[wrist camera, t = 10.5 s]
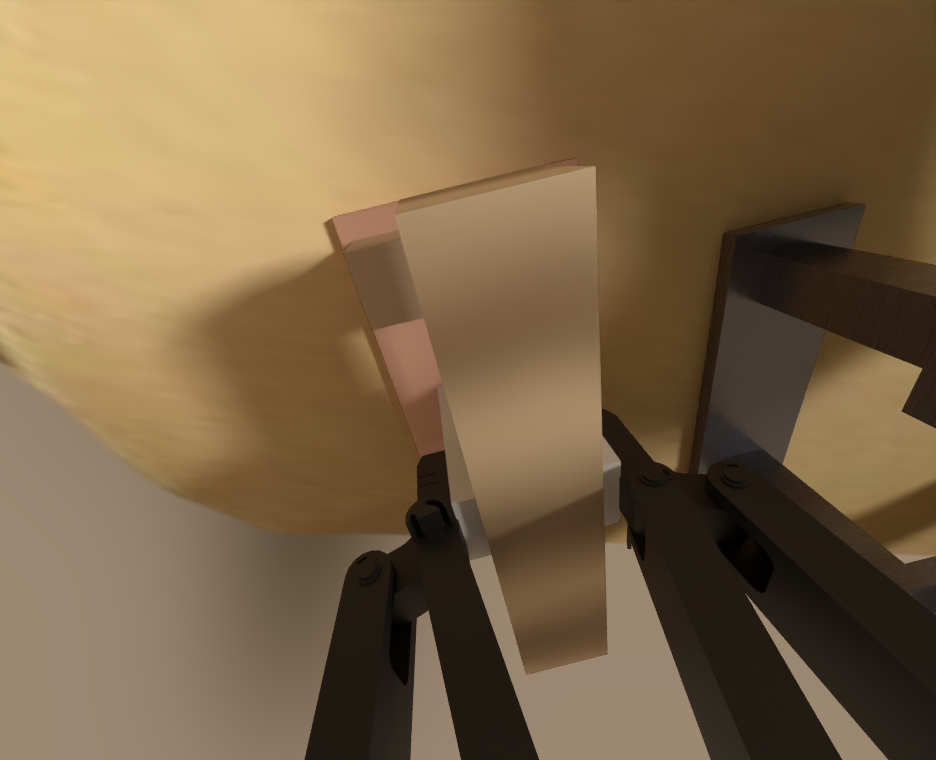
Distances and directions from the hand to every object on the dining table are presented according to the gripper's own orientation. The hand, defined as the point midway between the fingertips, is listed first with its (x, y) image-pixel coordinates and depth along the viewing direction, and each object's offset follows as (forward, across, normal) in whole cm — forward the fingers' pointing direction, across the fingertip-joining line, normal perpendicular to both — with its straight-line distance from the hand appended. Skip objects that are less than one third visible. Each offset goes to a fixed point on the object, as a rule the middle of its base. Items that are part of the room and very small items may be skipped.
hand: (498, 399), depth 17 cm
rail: (-3, 0, 0) cm, 3 cm away
